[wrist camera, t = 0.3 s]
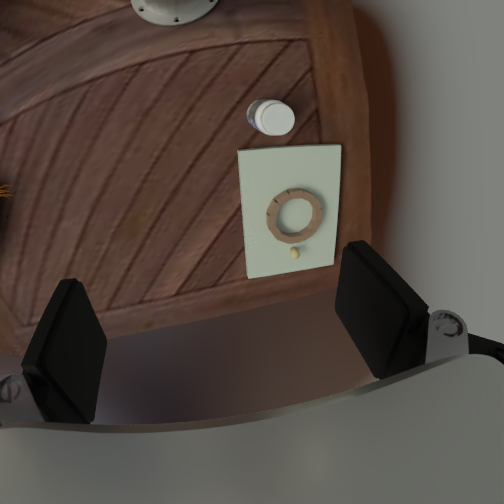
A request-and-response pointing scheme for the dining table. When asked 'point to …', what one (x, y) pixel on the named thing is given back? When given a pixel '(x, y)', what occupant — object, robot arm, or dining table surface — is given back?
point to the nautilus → (4, 192)
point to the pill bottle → (270, 117)
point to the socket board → (289, 207)
